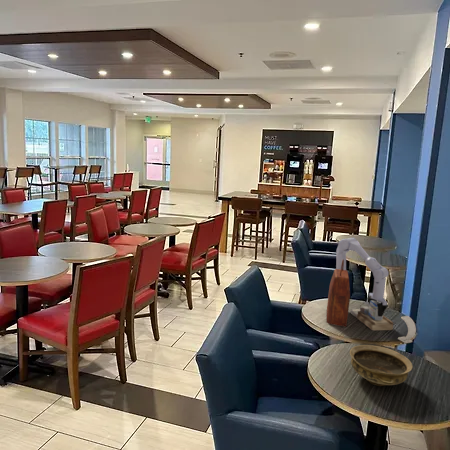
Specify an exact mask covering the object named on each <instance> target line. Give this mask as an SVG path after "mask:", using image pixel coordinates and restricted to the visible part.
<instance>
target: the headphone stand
mask: <svg viewBox="0 0 450 450" xmlns="http://www.w3.org/2000/svg"><path fill="white" fill-rule="evenodd" d="M400 319H401V320H403V322H404V323H405V324H406V326H407V334H406V336H405V335H404V336H399V337H398V338H397V340H399V341H401V342H403V343H404V344H410V343H413V340H412V338H414V337H415V335H416V331H417V328H416V327H417V326H416V323H415V322H414V320H413V319H412V317H410V316H409V315H403V316H401V318H400Z"/></svg>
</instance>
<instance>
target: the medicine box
mask: <svg viewBox="0 0 450 450" xmlns="http://www.w3.org/2000/svg"><path fill="white" fill-rule="evenodd" d="M377 304H381V303H380V302H378V301H375V300H371V301H370V305H369V304H368V307H369V312H368V315H369V316H370V317H372V318H373V319H374V320H382V319H383V316H384V315H383V316H378V306H377Z"/></svg>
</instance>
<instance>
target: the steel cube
mask: <svg viewBox="0 0 450 450" xmlns="http://www.w3.org/2000/svg"><path fill="white" fill-rule="evenodd" d="M359 308H360V309H359V310H360V312H361V313H362V314H364V315H365V316H367V315H368V312H369V306H367V305H365V306H364V305H363V306H360V307H359Z"/></svg>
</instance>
